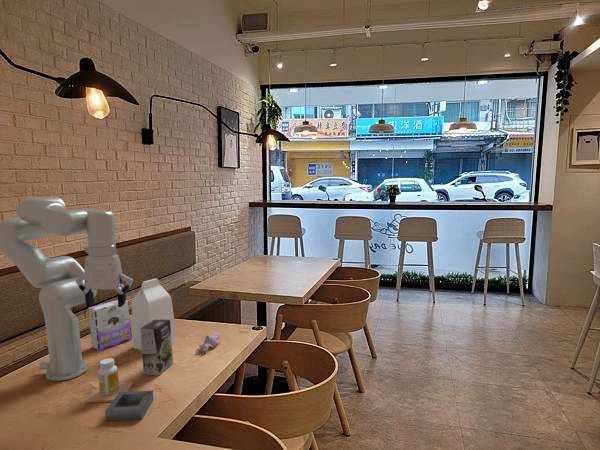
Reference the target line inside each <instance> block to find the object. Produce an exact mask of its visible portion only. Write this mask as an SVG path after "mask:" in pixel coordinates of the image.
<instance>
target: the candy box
mask: <svg viewBox="0 0 600 450" xmlns="http://www.w3.org/2000/svg"><path fill="white" fill-rule="evenodd" d="M87 308H88V320H89V327H90V328H89V329H90V339H91V348H93V349H94V350H96V351H97V352H100V351H103V350H106V349H108V348H111V347H114V346H117V345H119V344H123V343H124V342H128V341H130V340H133V338H132V321H131V312H130V303H129V300H127V299H126V302H125V304H124V305H123V306H122V307H118V299H116V300H112V301H109V302H106V303H102V304H97V305H94V306H93V305H92V306H90V307H87Z"/></svg>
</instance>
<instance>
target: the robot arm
mask: <svg viewBox="0 0 600 450" xmlns="http://www.w3.org/2000/svg"><path fill="white" fill-rule="evenodd" d="M15 210H16V211H15V212H16V214H17V216H18V217H16V216H15V217H9V218H4V219H2V220H0V252H1V253H2V254H3V255H4V256H5V257H6V258H7V259H9V260H10V261H11V262H12V263H13V264H15V266H16V267H17V268H18V270H19V271H20V272H21V274H22V275H23V276H24V277H25V278H26V280H27V281H28V282H29V283H30V284H31V285H32V287H34V288H37V289H41V290H40V291H39V294H38V301H39V304H40V307H41V309H42V314H43V317H44V324H45V331H46V339H47V340H46V341H47V347H48V348H47V349H48V358H49V359H48V360H41V361H40V362H39V370H46V372H45V378H46V380H48V381H52V382H60V381H67V380H72V379H74V378H77V377H79V376H82V374H84V373H86V372H88V371H87V370H89V364H88V363H87V362H86V361H84V360H83V354H82V343H81V334H80V333H81V332H80V324H79V323H80V322H79V319H78V317H77V315H76V314H75V313H73V311H72V310H71V309H72V308H74V307H76V306H79V305H82V304H86V308H89V307H92V306H93V305H94V304H95V298H96V295H97V291H98V290H115V291H116V292H117V293H118V294H117V300H118V307H122V306H123V305H124V304H125V302H126V300H127V298H126V293H127V291H128V290H130V288H131V286H132V284H133V282H134V279H133V278H132V277H129V276H127V275H126V274H124V273H123V269H122V263H121V260H120V256H119V254H118V253H117V245H116V243H117V242H116V229H115V214H114V212H112V211H111V210H105V209H102V210H100V209H98V208H93V207H91V208H90V207H89V208H78V209H69V210H67V205H66V204H65V202H64V200H63V199H62V198H60V197H58V196H39V197H36V196H35V197H28V198H25V199H22V200H21V201H20V202H19V203H18V204H17V206H16V209H15ZM81 234H82V235H83V234H87V245H88V246H86V247H84V252H85V253H87V254H88V255H86V256H85V260H84V261H85V262H84V268H83V267H82V264H81V265H80V263H79V262H78V261H77V260H76V259H75V258H73V257H72V256H68V255H60V256H56V257H47V256H46V255H45V254H44V253H43V252H42V251H41V250H40V248H38V247H36V246H35V245H33V244H31V243H28V242H25V241H31V240H33V241H34V240H40V239H43V238H44V239H45V238H47V237H49V236H50V235H55V236H61V237H68V236H69V237H70V236H74V235H81ZM124 282H126V283H125V285H123V283H124Z"/></svg>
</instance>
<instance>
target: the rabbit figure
mask: <svg viewBox="0 0 600 450" xmlns="http://www.w3.org/2000/svg"><path fill="white" fill-rule="evenodd" d="M222 335H223V333H221V332H220V333H219V332H213V333H212V334H210V336H209V335H205V339H204V342H203V343H202V344H198V348H197V350H196V351H195V355H198V353H200V354H201V356H203V355H204V354H207V353H208V350H209V349H210V348H212V349H213V348H214V347H215V346H216V345H218V340H220V338H221V336H222ZM204 356H205V355H204Z"/></svg>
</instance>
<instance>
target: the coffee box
mask: <svg viewBox="0 0 600 450" xmlns="http://www.w3.org/2000/svg"><path fill="white" fill-rule="evenodd" d="M140 331H141V345H142V350H141V358H142V373H143V375H150V376H151V375H152V376H161V375H162V374H163V373H164V372H166V370H168V369H169V368H170V367H172V365H173V364H174V355H173V344H172V339H171V324H170V320H153V321H151V322H150V323H148V324H147V325H145V326H143V327H142V328H140Z"/></svg>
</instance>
